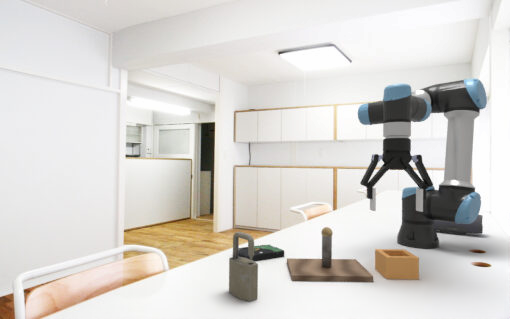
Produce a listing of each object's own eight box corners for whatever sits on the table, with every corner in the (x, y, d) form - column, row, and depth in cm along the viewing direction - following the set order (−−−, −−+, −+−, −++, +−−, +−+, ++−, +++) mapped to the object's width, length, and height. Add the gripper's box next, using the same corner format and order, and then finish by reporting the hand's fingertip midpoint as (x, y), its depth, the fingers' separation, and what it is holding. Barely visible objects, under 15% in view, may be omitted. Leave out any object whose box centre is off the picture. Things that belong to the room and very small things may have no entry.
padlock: (246, 302, 77) (247, 236, 77) (226, 291, 83) (227, 231, 83) (260, 298, 79) (260, 234, 79) (238, 288, 86) (239, 229, 86)
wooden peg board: (355, 264, 107) (356, 222, 107) (373, 282, 91) (373, 233, 91) (286, 263, 107) (287, 222, 107) (292, 280, 91) (292, 232, 91)
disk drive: (246, 264, 107) (285, 258, 114) (246, 256, 107) (285, 249, 114) (232, 256, 116) (268, 250, 123) (232, 248, 116) (268, 243, 123)
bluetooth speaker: (481, 234, 155) (482, 212, 155) (482, 238, 147) (482, 215, 147) (426, 228, 167) (426, 208, 167) (424, 231, 159) (424, 210, 159)
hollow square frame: (404, 269, 102) (404, 249, 103) (418, 279, 93) (418, 257, 94) (374, 268, 103) (375, 249, 103) (386, 279, 94) (386, 257, 94)
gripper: (432, 139, 102) (432, 209, 102) (350, 138, 102) (349, 208, 102) (446, 137, 94) (446, 213, 94) (357, 136, 95) (357, 211, 94)
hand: (395, 210), depth 98 cm, fingers open, 13 cm apart
